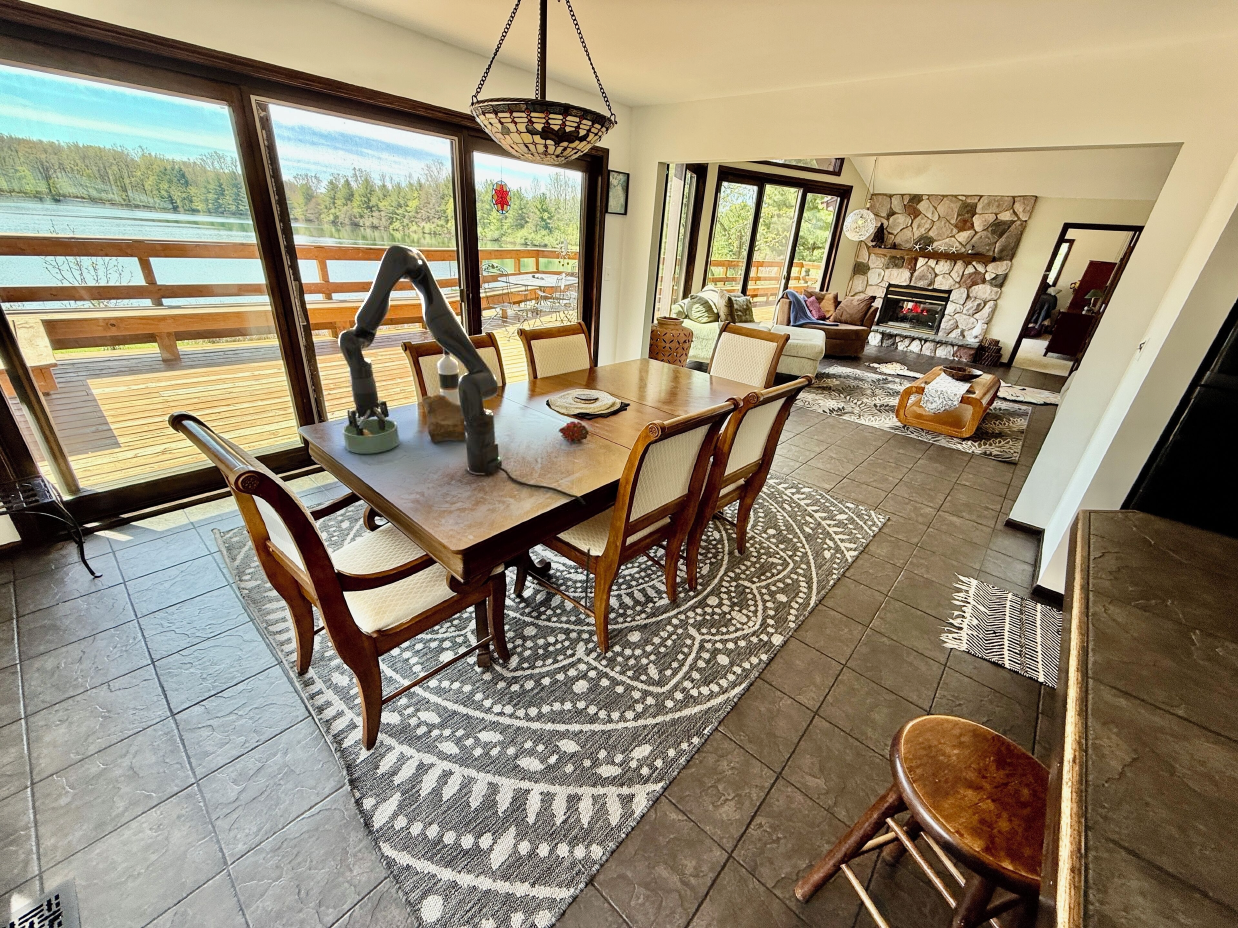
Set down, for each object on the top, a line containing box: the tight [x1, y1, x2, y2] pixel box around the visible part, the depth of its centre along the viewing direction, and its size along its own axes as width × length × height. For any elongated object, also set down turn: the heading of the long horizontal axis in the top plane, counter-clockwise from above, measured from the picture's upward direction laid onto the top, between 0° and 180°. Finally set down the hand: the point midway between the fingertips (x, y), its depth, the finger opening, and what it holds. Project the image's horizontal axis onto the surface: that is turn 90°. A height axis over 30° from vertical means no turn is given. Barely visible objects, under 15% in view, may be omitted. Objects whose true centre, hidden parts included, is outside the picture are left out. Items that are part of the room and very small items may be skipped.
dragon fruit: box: [558, 421, 589, 444], centre depth 186 cm, size 8×8×12 cm
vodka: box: [436, 347, 460, 405], centre depth 203 cm, size 9×9×30 cm
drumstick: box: [363, 430, 371, 436], centre depth 170 cm, size 12×5×5 cm, turn 65°
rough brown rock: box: [421, 394, 466, 443], centre depth 179 cm, size 23×17×15 cm
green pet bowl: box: [342, 418, 400, 455], centre depth 171 cm, size 17×17×7 cm
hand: (372, 433), depth 169 cm, fingers open, 8 cm apart
